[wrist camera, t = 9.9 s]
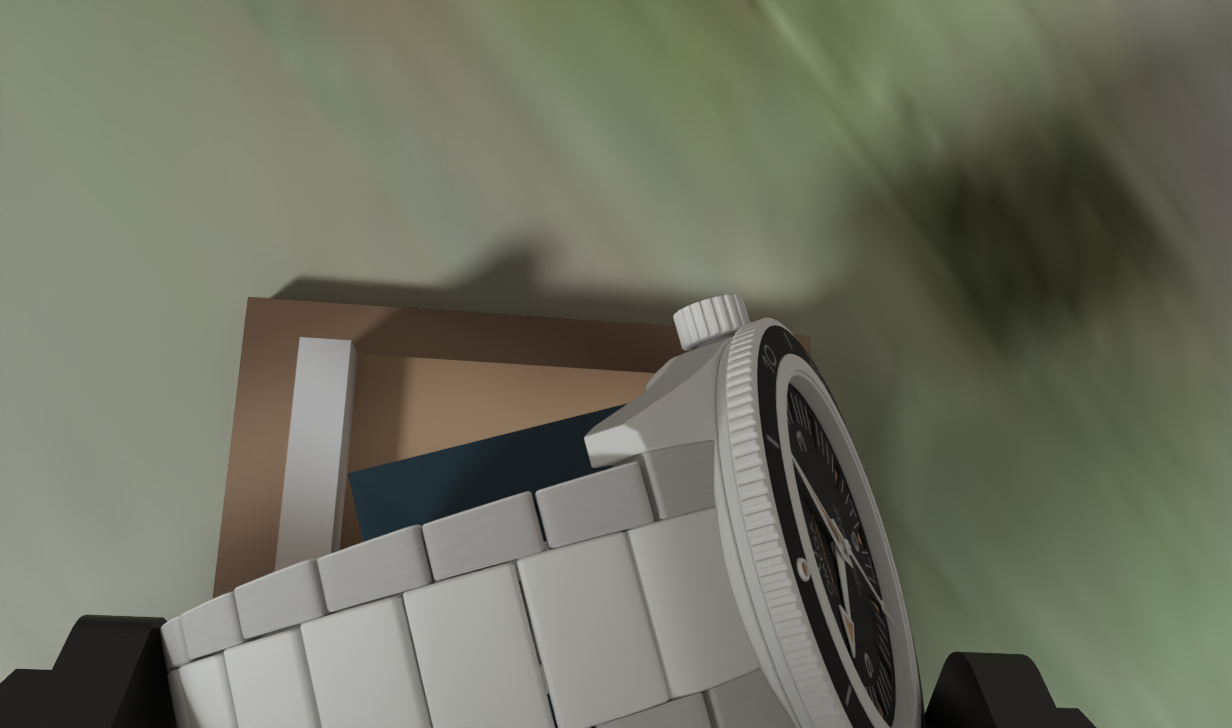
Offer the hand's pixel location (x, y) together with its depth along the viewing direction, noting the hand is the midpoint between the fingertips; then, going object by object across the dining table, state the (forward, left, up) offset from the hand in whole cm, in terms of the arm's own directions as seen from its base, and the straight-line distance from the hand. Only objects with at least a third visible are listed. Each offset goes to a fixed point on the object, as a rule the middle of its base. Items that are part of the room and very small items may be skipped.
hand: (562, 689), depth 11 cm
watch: (+1, 0, -8) cm, 8 cm away
